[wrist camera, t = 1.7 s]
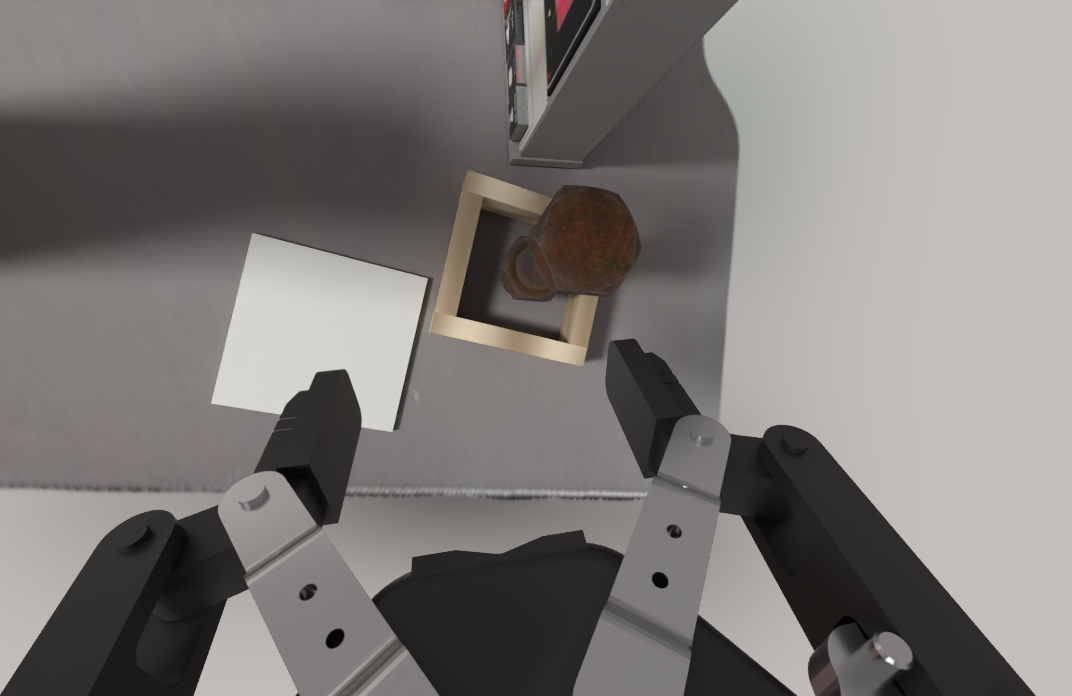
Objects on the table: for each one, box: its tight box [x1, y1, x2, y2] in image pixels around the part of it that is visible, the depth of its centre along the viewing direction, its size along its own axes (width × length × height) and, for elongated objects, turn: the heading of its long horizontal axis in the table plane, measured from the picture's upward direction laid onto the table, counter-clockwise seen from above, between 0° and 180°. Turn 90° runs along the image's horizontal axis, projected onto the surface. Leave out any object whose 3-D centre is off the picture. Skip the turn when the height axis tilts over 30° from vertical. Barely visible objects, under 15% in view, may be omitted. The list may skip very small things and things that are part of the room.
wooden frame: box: [429, 170, 599, 366], centre depth 33 cm, size 12×12×3 cm
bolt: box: [498, 185, 641, 302], centre depth 28 cm, size 6×5×15 cm
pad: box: [211, 233, 428, 432], centre depth 31 cm, size 12×12×1 cm
